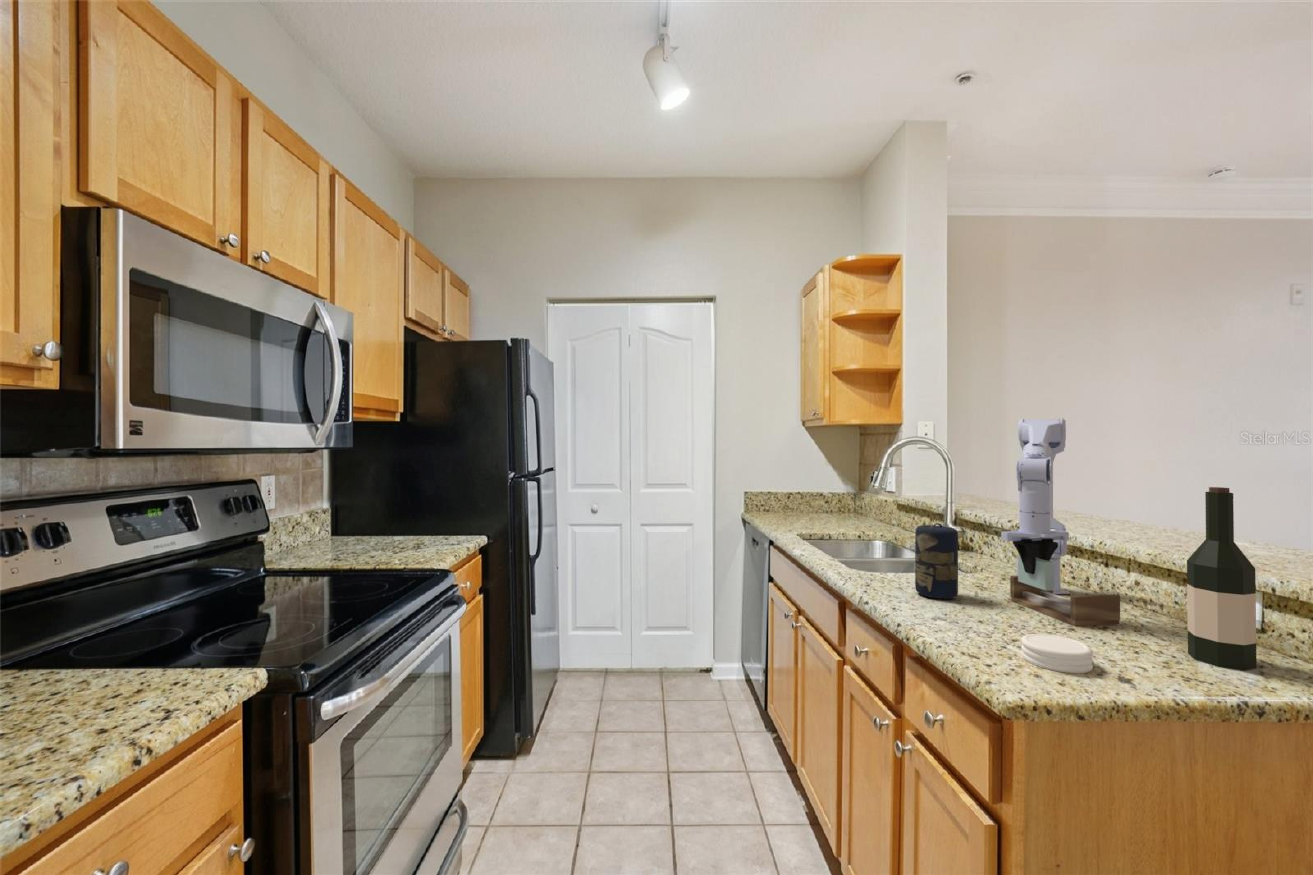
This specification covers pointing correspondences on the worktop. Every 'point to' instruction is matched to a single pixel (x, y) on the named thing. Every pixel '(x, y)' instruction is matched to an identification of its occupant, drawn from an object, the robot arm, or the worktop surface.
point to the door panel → (1038, 574)
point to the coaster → (1057, 653)
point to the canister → (936, 561)
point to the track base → (1068, 605)
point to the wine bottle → (1221, 592)
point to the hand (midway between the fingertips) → (1035, 573)
